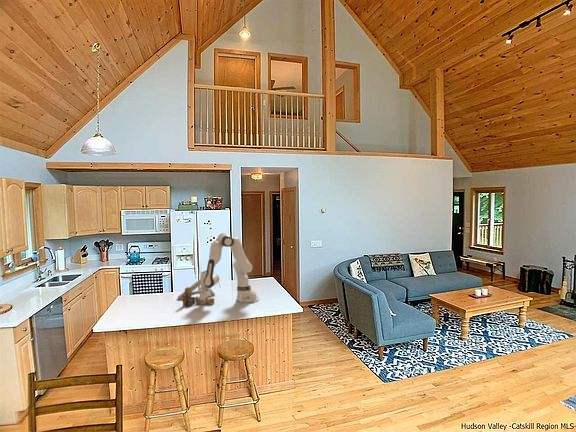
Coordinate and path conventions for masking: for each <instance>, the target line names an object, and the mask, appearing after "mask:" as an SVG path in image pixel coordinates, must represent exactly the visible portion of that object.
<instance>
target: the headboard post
mask: <svg viewBox="0 0 576 432" xmlns="http://www.w3.org/2000/svg"><path fill="white" fill-rule="evenodd" d="M190 287H191V286H189V287H186V288H184V291H185V293H184V294H183V299H182V307H183V308H186V307H193V305H196V297H194V296H191V290H190Z"/></svg>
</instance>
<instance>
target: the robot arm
mask: <svg viewBox="0 0 576 432" xmlns="http://www.w3.org/2000/svg"><path fill="white" fill-rule="evenodd" d="M224 247H226V248H229V247H230V250H231V253H232V256H233V258H234V259H235V261H233V264H232V267H233V270H234V271H235V275H236V279H237V280H236V281H237V283H236V284H237V286H236V292H237V293H236V294H237V295H236V301H237V302H238V303H240V304H241V303H242V304H244V303H257V302H258V301H259V300H260V297H259V296H258V295H257V292H256V291H254V290H253V289H252V285H250V283H249V282H250V281H249V276H248V273H251V272H252V271H253V264H252V263H251V261H249V258H247V256H246V254H245V251H244V248H243V245H242V243H241V241H240V239H239V238H238V237H232V236H231V235H229V234H227V233H220V234H219V235H218V237H217V238H216V240H215V241H212V242H211V243H210V248H209V255H208V262H207V266H206V267H207V268H206V270H204V271H201V272H200V276H199V279H200V281H201V284H200V286H199V287H200V288H199V289H198V290H199V292H200V294H199V298H200V300H203V301H204V303H206V300H205V299H206V298H209V296H211V295H210V293H211V292H210V289H212V287H214V286H215V285H217V284H218V283H220V277H219V275H218V274H215V273H214V272H215V267H216V266H217V264H218V263H219V262H220V261H221V259H222V250H223V248H224Z"/></svg>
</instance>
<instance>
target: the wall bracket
mask: <svg viewBox="0 0 576 432" xmlns="http://www.w3.org/2000/svg"><path fill="white" fill-rule="evenodd" d="M200 284H201V281H200V278H199V279H198V280H196V282H194V283H193V284H191V286H189V287H190V290H191V297H193V296H195V295H200V292H199V289H198V290H196V289H197V288H199V287H201V286H200ZM210 292H211V293H210V295H209V296H216V293H215V292H214V291H213V290H212V288H210ZM184 293H185V290H184V291H183V292H182V293H180V294H179V295H178V296H177V298H176V299H177V300H183V294H184Z"/></svg>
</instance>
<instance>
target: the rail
mask: <svg viewBox="0 0 576 432" xmlns="http://www.w3.org/2000/svg"><path fill="white" fill-rule="evenodd" d="M205 300H206V303H204V301H203V300H200V297H199V296H196V297H195V305H215V297H208V298H206V299H205Z"/></svg>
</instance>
